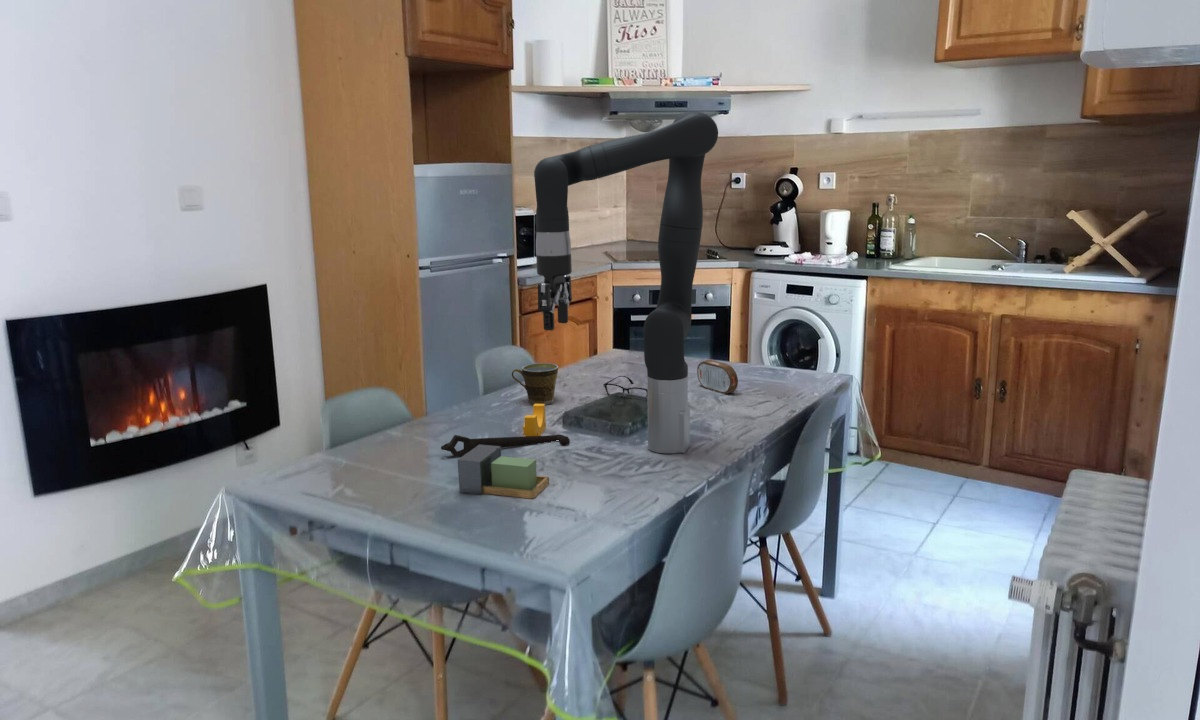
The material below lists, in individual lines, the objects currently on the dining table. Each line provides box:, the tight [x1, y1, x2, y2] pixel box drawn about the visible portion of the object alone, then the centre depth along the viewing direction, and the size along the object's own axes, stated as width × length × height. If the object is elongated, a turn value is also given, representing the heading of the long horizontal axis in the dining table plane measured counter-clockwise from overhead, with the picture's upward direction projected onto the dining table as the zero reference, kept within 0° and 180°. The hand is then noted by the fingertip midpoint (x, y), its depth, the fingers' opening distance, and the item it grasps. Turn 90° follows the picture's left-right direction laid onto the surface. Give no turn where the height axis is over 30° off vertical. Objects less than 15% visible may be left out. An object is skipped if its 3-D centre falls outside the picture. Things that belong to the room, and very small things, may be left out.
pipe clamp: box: [522, 404, 547, 436], centre depth 216 cm, size 12×4×6 cm, turn 172°
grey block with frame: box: [457, 444, 550, 500], centre depth 182 cm, size 16×10×7 cm, turn 72°
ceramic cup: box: [511, 362, 559, 406], centre depth 244 cm, size 13×10×10 cm
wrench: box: [440, 434, 570, 458], centre depth 205 cm, size 5×5×30 cm
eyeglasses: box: [602, 375, 647, 398], centre depth 253 cm, size 16×16×4 cm
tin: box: [696, 358, 739, 395], centre depth 252 cm, size 15×3×8 cm, turn 34°
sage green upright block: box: [491, 455, 538, 490], centre depth 181 cm, size 8×4×6 cm, turn 71°
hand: (556, 326), depth 194 cm, fingers open, 8 cm apart
